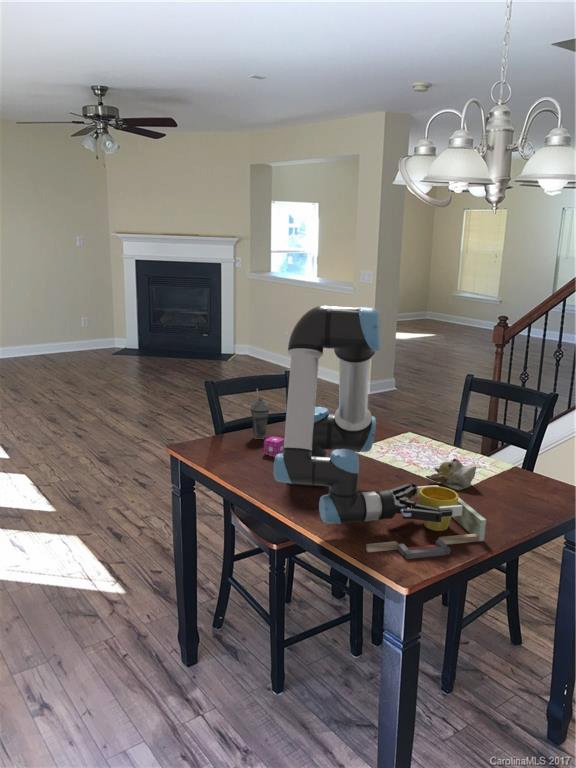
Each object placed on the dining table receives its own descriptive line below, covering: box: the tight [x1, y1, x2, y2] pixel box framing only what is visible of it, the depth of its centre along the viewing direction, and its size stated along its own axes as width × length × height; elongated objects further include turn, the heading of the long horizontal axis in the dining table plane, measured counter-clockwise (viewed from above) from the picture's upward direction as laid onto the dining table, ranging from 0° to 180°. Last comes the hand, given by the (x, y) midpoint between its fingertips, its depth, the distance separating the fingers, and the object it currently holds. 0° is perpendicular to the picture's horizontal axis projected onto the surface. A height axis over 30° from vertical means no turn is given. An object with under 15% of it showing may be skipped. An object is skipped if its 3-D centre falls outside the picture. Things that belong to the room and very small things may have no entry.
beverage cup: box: [250, 388, 270, 438], centre depth 239 cm, size 7×7×20 cm
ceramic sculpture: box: [425, 458, 477, 488], centre depth 201 cm, size 11×9×15 cm
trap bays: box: [397, 539, 451, 560], centre depth 168 cm, size 31×12×2 cm, turn 13°
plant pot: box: [418, 485, 459, 532], centre depth 170 cm, size 10×10×10 cm
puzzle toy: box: [263, 436, 284, 455], centre depth 223 cm, size 6×6×6 cm
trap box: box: [365, 496, 487, 553], centre depth 168 cm, size 21×32×6 cm, turn 103°
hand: (449, 499), depth 170 cm, fingers open, 13 cm apart
